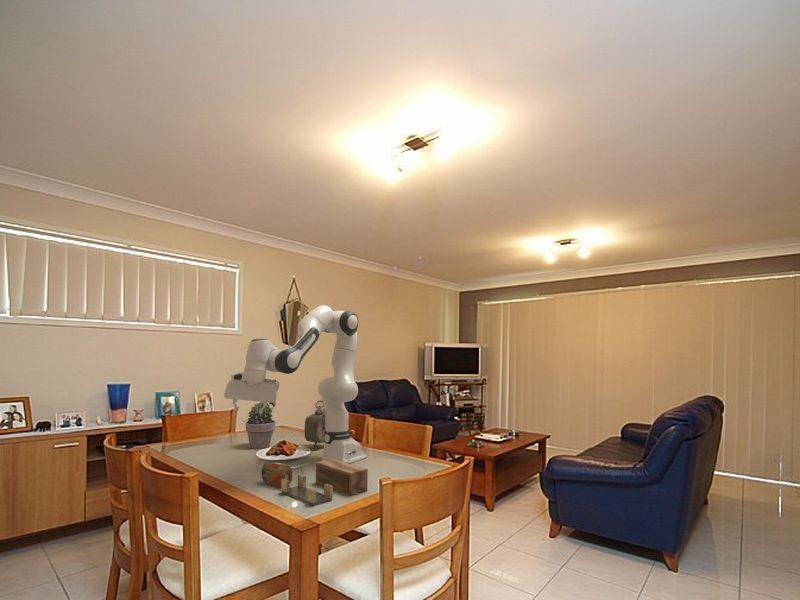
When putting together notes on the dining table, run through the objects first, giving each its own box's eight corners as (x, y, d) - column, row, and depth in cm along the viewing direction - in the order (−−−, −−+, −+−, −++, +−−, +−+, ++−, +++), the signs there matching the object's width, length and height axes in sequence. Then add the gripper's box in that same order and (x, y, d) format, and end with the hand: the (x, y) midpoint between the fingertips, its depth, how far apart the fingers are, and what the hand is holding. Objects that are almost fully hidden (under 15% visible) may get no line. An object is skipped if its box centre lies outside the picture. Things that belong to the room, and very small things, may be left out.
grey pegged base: (300, 487, 173) (300, 474, 174) (332, 500, 160) (332, 485, 160) (281, 492, 167) (281, 479, 168) (312, 506, 153) (313, 491, 154)
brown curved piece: (260, 482, 180) (261, 461, 180) (266, 480, 182) (267, 459, 183) (287, 489, 172) (288, 466, 173) (293, 487, 174) (294, 464, 175)
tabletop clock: (315, 451, 233) (316, 402, 235) (302, 449, 237) (303, 401, 240) (333, 446, 245) (334, 399, 248) (320, 444, 250) (321, 398, 252)
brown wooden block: (331, 478, 185) (331, 458, 186) (367, 490, 170) (367, 468, 171) (314, 483, 179) (315, 462, 180) (350, 495, 164) (350, 473, 165)
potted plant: (232, 447, 240) (234, 400, 243) (264, 442, 255) (266, 397, 258) (251, 453, 229) (252, 403, 231) (283, 446, 243) (284, 399, 246)
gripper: (280, 380, 188) (275, 414, 185) (229, 375, 184) (223, 409, 181) (279, 380, 182) (274, 415, 179) (227, 374, 178) (220, 410, 175)
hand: (248, 412), depth 180 cm, fingers open, 8 cm apart
